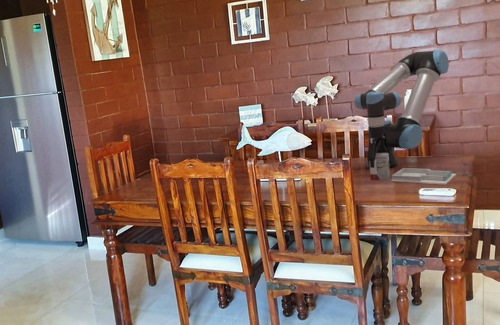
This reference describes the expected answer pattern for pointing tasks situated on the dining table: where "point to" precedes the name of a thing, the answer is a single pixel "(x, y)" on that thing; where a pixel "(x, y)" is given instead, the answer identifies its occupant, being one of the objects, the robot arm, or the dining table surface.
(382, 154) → the ink box
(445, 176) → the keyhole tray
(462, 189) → the dining table surface
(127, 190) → the dining table surface
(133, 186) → the dining table surface
